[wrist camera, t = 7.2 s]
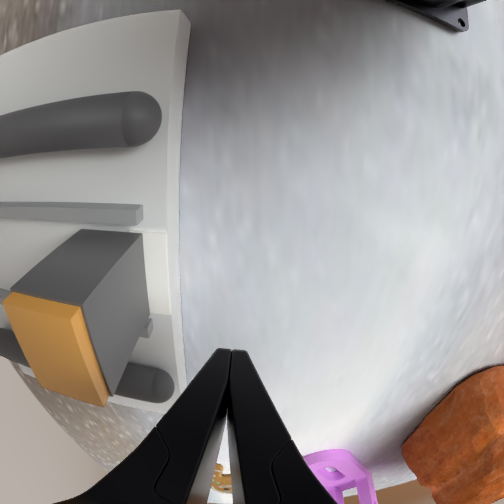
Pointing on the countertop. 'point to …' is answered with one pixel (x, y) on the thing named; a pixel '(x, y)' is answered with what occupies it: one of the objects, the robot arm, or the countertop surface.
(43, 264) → the toggle
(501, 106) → the countertop surface
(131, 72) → the panel
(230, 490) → the cookie
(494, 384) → the bread
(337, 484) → the bracket
